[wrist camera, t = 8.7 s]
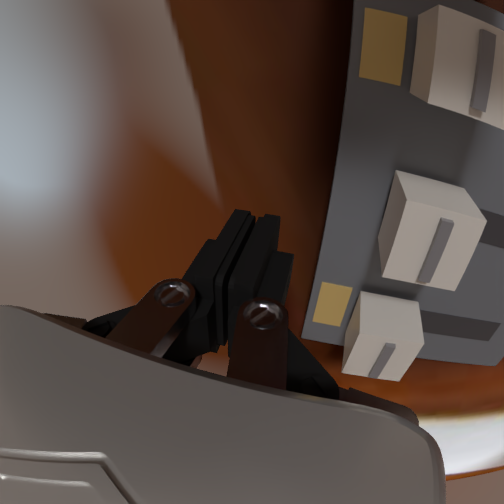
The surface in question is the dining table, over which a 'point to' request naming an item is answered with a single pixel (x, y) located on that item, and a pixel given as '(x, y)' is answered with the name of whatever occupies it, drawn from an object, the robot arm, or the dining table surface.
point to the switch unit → (418, 163)
